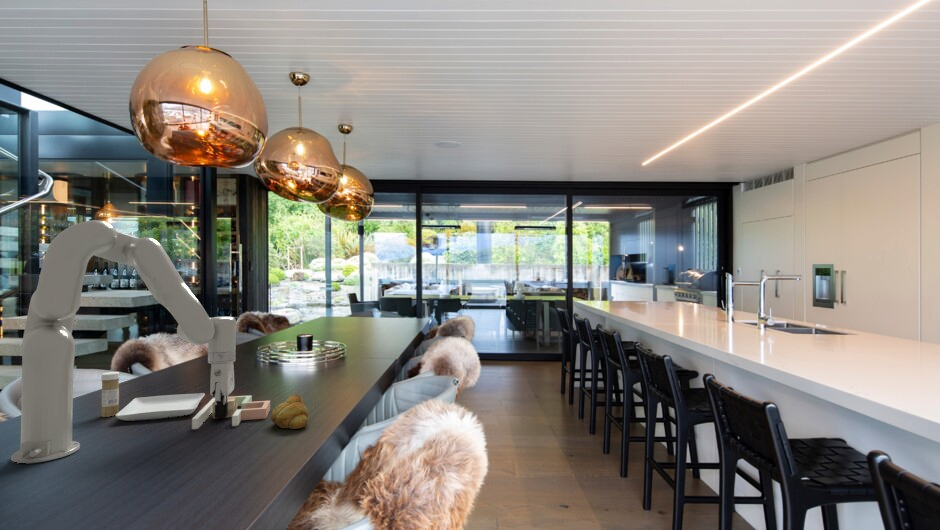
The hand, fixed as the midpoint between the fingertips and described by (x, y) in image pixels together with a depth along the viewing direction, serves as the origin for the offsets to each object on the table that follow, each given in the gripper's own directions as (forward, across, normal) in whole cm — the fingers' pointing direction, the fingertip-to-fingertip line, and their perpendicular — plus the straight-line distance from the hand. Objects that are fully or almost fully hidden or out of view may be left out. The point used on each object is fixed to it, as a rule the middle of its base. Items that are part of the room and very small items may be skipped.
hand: (221, 416), depth 144 cm
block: (+1, +6, 0) cm, 6 cm away
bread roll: (+1, -11, -21) cm, 24 cm away
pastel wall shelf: (+1, +5, -3) cm, 6 cm away
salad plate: (+2, +15, +20) cm, 25 cm away
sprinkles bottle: (+1, +15, +35) cm, 38 cm away
